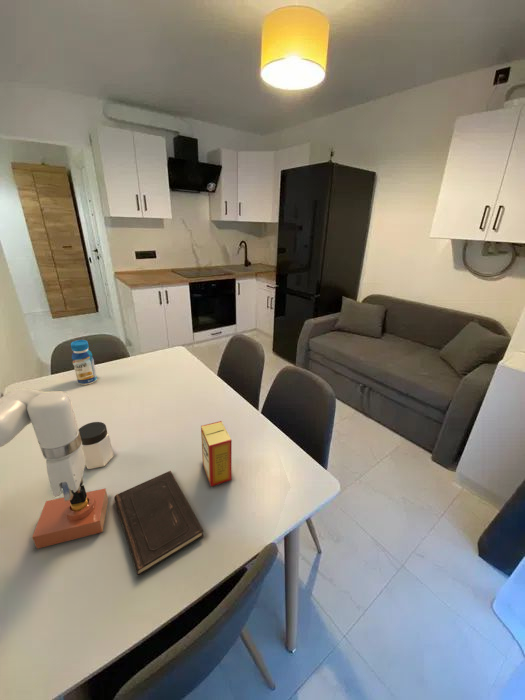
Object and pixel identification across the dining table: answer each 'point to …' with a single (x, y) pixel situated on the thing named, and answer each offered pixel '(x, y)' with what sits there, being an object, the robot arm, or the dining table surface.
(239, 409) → the dining table surface
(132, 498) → the hardcover book
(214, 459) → the baking soda box
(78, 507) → the yellow push button
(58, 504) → the push button box
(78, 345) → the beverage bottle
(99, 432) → the jar
